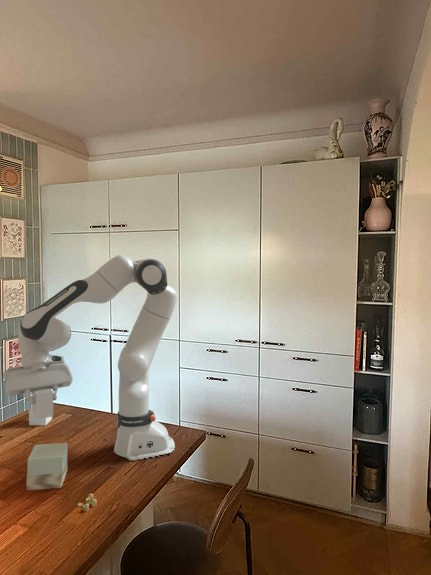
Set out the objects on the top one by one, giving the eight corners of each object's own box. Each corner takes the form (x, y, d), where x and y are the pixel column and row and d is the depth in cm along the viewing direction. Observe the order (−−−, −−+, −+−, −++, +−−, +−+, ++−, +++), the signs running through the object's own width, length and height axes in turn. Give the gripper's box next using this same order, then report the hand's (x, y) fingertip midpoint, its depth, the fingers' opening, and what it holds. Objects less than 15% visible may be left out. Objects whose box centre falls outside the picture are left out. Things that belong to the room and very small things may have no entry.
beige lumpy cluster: (91, 499, 117) (91, 492, 117) (100, 506, 114) (100, 500, 114) (75, 506, 113) (75, 500, 113) (84, 514, 110) (84, 507, 110)
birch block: (67, 471, 132) (67, 456, 131) (61, 488, 122) (61, 472, 121) (35, 473, 130) (35, 459, 129) (26, 491, 120) (26, 475, 120)
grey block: (33, 414, 129) (33, 390, 128) (49, 411, 132) (49, 388, 131) (36, 419, 125) (36, 394, 124) (53, 416, 128) (53, 392, 127)
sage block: (67, 457, 131) (67, 442, 131) (62, 472, 121) (62, 456, 121) (35, 459, 129) (35, 444, 129) (27, 475, 119) (27, 459, 119)
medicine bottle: (52, 419, 174) (52, 392, 173) (45, 425, 167) (45, 397, 166) (35, 419, 174) (35, 392, 173) (28, 425, 167) (28, 397, 166)
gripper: (3, 363, 127) (8, 402, 119) (68, 356, 139) (77, 391, 132) (1, 374, 131) (6, 412, 123) (65, 365, 143) (73, 400, 135)
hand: (43, 401), depth 128 cm, fingers closed on grey block, 5 cm apart
